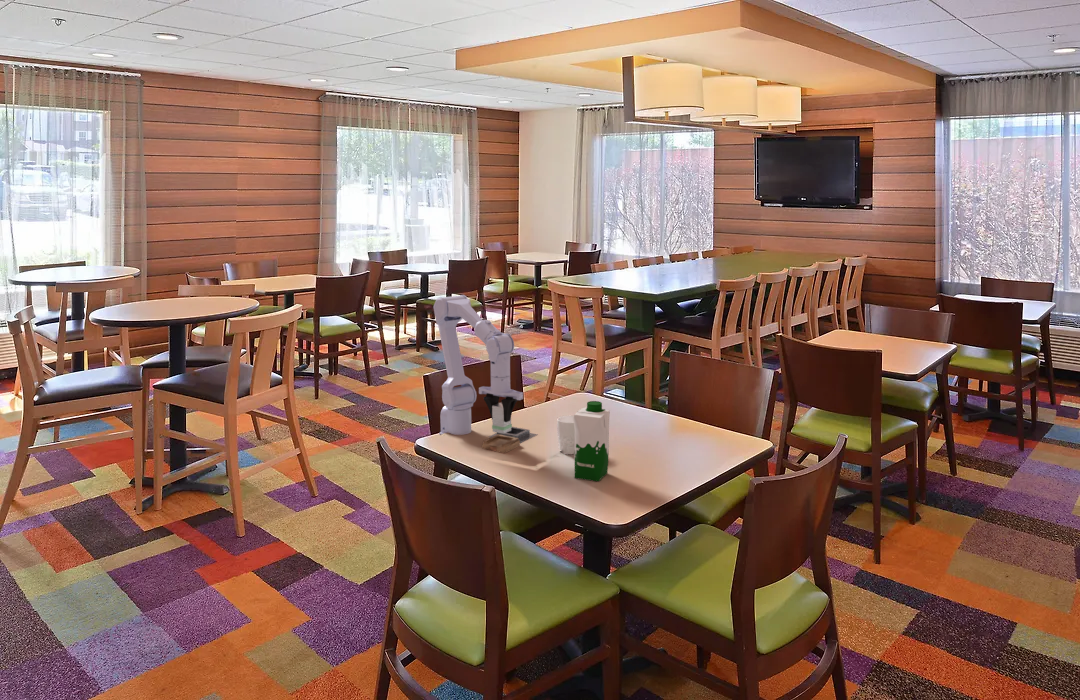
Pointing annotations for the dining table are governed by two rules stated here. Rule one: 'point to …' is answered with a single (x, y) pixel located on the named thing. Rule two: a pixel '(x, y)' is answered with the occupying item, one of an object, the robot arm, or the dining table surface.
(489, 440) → the tray
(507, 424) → the column
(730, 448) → the dining table surface
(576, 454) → the milk carton
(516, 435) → the stand base
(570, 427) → the white cup
